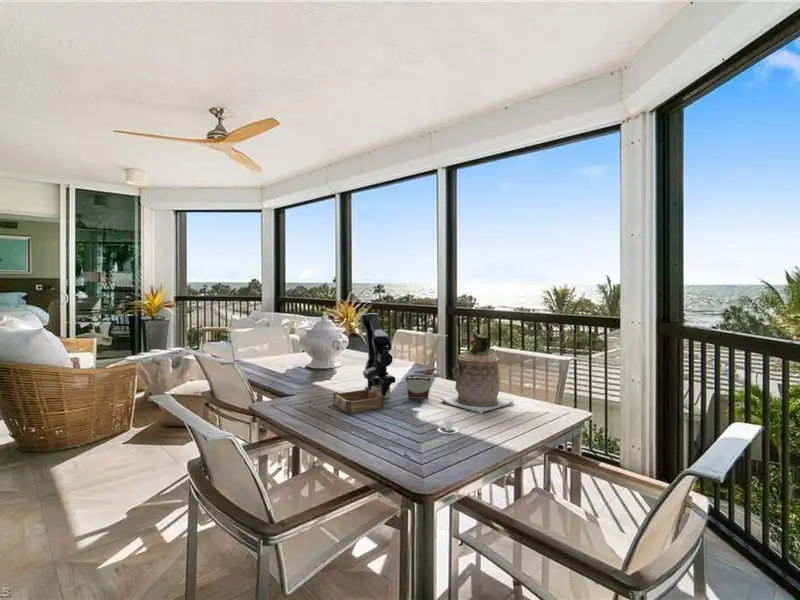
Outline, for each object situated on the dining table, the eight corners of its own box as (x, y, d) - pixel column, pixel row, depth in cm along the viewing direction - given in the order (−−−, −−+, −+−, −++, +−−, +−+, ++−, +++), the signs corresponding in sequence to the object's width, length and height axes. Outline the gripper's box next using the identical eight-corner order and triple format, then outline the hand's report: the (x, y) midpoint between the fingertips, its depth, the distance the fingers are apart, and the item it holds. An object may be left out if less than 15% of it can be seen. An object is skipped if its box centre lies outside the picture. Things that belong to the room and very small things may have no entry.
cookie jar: (516, 404, 198) (517, 332, 196) (481, 415, 182) (482, 337, 180) (472, 393, 217) (473, 327, 215) (437, 402, 201) (438, 331, 199)
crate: (333, 403, 197) (333, 392, 197) (368, 398, 206) (368, 387, 206) (347, 413, 184) (347, 401, 183) (384, 407, 192) (384, 396, 192)
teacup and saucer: (436, 426, 169) (436, 416, 169) (457, 426, 169) (457, 416, 169) (438, 434, 161) (438, 423, 160) (460, 435, 160) (460, 423, 160)
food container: (431, 395, 212) (431, 374, 212) (431, 398, 206) (431, 377, 206) (406, 394, 214) (406, 373, 213) (404, 397, 208) (405, 376, 207)
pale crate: (371, 396, 210) (371, 385, 210) (384, 394, 213) (384, 384, 213) (376, 399, 205) (376, 388, 204) (390, 397, 208) (390, 386, 208)
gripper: (356, 359, 212) (356, 392, 213) (374, 366, 196) (374, 401, 197) (377, 357, 218) (377, 389, 219) (396, 364, 202) (395, 398, 202)
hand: (380, 394), depth 209 cm, fingers closed on pale crate, 6 cm apart
